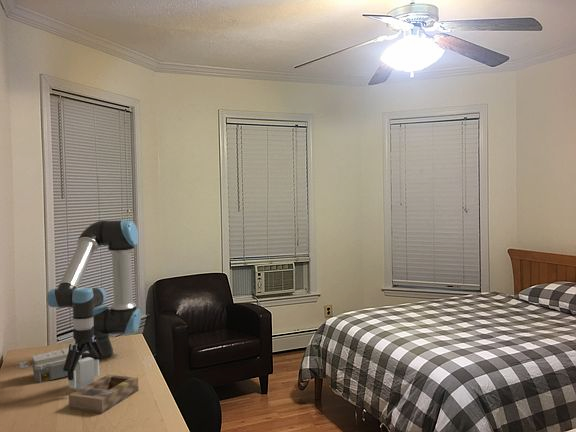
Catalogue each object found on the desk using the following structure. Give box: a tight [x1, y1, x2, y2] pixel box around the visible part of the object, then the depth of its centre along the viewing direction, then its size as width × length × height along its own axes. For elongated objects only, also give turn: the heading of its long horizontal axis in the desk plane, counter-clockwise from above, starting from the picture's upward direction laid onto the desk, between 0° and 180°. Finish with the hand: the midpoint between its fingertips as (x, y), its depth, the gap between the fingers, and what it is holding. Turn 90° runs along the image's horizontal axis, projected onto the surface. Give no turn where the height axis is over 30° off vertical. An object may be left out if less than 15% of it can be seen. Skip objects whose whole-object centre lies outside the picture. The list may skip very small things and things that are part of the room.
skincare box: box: [74, 357, 95, 392], centre depth 199 cm, size 6×4×12 cm
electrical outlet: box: [17, 347, 89, 384], centre depth 215 cm, size 12×28×10 cm, turn 123°
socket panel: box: [68, 374, 139, 415], centre depth 190 cm, size 22×14×5 cm, turn 163°
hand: (84, 381), depth 199 cm, fingers open, 13 cm apart
